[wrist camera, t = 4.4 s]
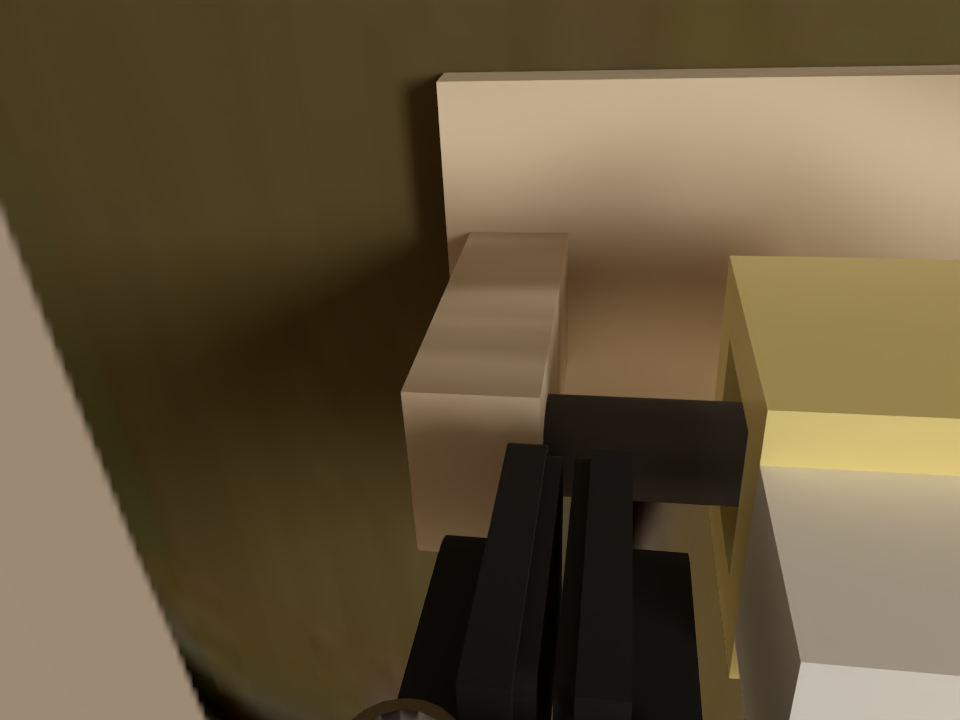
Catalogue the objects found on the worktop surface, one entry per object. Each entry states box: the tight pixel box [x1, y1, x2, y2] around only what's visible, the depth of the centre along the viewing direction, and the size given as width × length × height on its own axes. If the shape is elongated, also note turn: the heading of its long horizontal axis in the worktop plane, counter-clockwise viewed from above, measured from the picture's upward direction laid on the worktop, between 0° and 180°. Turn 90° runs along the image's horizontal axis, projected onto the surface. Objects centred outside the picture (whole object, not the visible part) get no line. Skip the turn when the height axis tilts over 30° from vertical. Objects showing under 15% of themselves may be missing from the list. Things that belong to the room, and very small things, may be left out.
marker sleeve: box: [709, 256, 960, 720], centre depth 12 cm, size 5×4×8 cm
